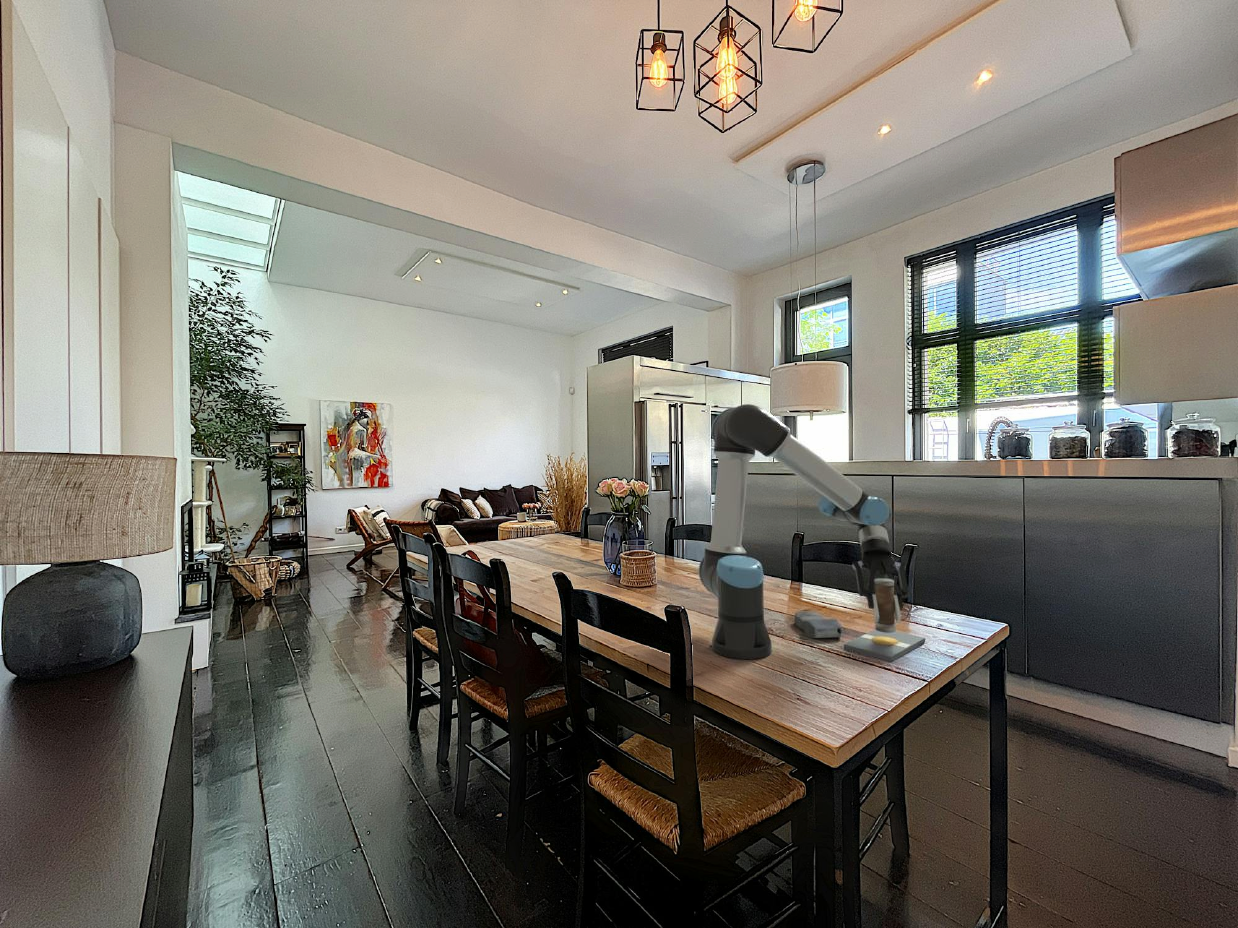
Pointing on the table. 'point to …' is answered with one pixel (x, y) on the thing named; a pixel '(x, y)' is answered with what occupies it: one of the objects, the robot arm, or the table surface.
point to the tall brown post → (885, 605)
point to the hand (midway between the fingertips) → (887, 619)
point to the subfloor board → (884, 644)
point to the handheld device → (817, 625)
